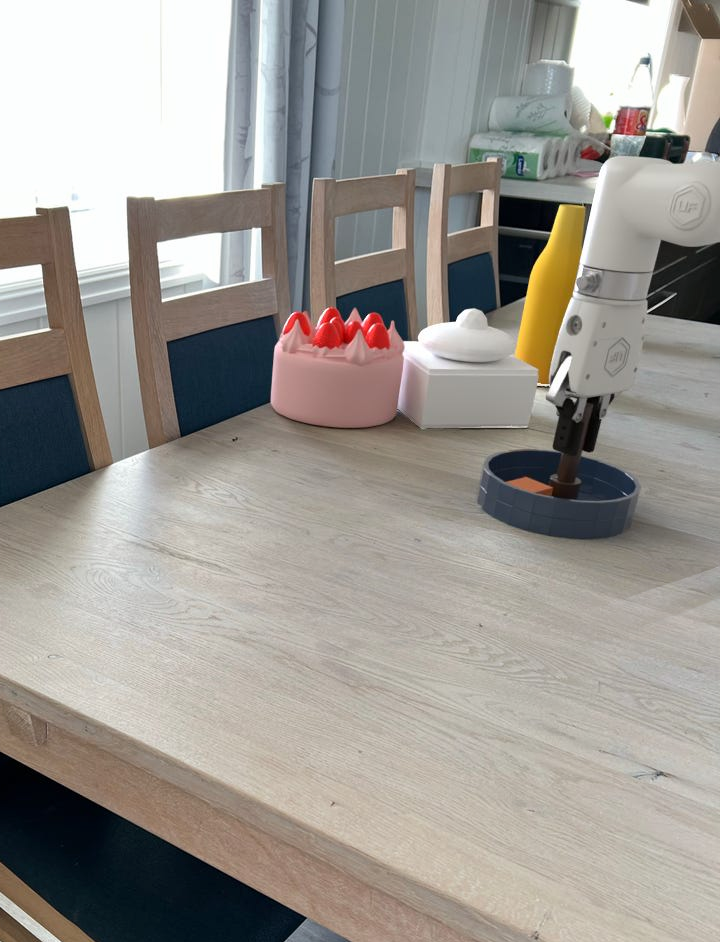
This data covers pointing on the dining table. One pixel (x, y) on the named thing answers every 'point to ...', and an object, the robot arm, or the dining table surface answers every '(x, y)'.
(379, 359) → the cake
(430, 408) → the butter dish
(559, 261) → the beer bottle
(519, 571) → the dining table surface
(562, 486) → the pestle
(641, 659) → the dining table surface
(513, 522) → the bowl
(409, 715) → the dining table surface
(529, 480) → the block
